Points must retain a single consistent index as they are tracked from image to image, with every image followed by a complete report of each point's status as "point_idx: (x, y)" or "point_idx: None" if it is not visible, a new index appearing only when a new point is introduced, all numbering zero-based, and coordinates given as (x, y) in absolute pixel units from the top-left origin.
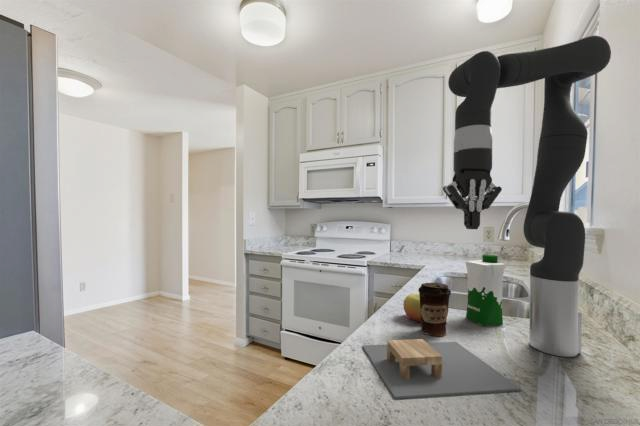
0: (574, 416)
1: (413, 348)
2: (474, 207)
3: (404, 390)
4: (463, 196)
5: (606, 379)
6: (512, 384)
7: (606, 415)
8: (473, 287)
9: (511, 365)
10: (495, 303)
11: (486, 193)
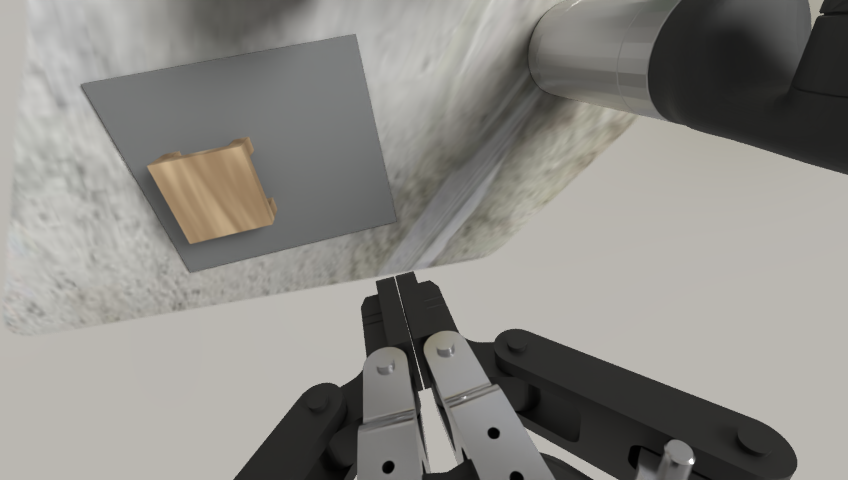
0: (428, 262)
1: (214, 200)
2: (438, 399)
3: (206, 255)
4: (382, 476)
5: (550, 168)
6: (389, 212)
7: (468, 253)
8: None
9: (429, 140)
10: None
11: (652, 434)
